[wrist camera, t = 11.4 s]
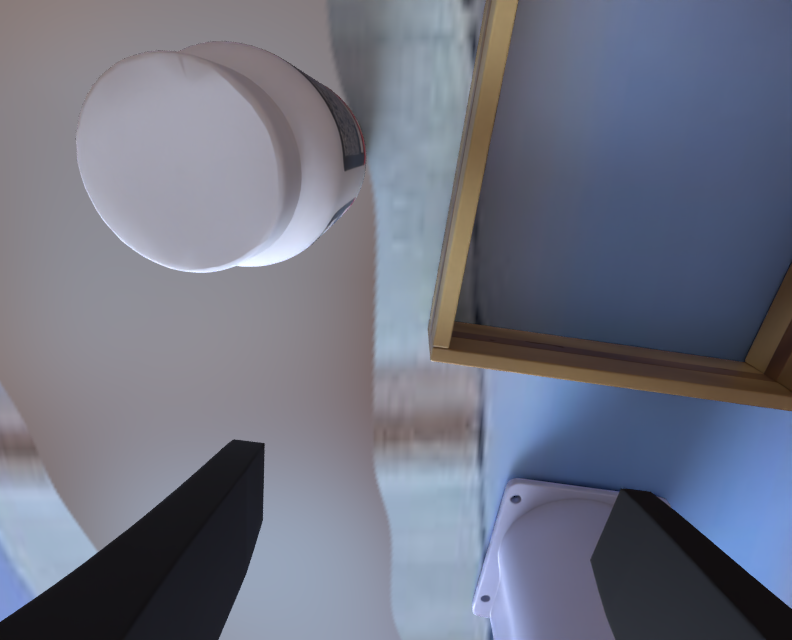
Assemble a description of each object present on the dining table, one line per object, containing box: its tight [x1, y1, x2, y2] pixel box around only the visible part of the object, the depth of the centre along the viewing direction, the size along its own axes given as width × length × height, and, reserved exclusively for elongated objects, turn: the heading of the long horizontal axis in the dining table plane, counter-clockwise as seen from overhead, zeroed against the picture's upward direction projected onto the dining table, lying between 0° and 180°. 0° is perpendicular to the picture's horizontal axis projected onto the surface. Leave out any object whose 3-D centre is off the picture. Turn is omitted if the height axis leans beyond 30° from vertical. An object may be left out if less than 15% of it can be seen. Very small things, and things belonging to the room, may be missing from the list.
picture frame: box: [428, 0, 792, 411], centre depth 15 cm, size 14×14×3 cm
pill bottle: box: [76, 41, 366, 273], centre depth 12 cm, size 5×5×9 cm
